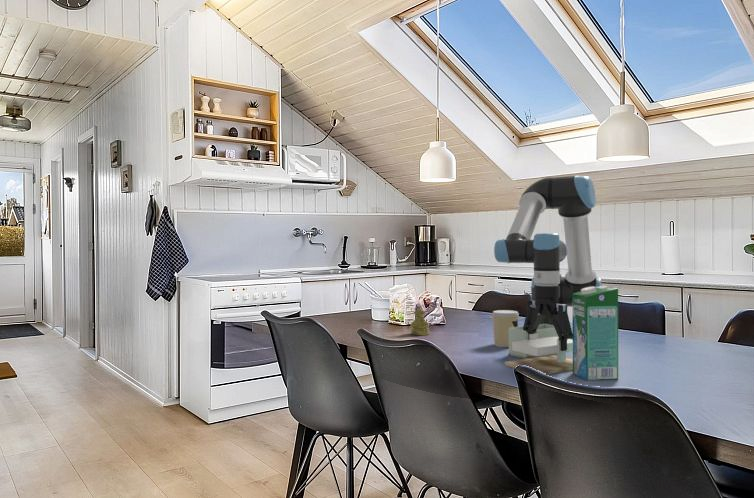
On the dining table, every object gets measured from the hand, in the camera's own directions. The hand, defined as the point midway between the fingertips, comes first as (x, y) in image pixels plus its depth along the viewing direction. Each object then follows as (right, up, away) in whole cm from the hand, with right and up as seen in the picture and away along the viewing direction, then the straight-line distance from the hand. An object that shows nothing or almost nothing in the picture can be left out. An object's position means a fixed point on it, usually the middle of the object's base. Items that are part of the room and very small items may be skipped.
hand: (547, 358), depth 176 cm
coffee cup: (-5, -2, +34) cm, 34 cm away
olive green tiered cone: (-34, -2, +59) cm, 68 cm away
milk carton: (+10, -3, -13) cm, 16 cm away
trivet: (0, -2, 0) cm, 2 cm away
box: (+1, -2, +17) cm, 17 cm away
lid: (0, +3, 0) cm, 3 cm away
